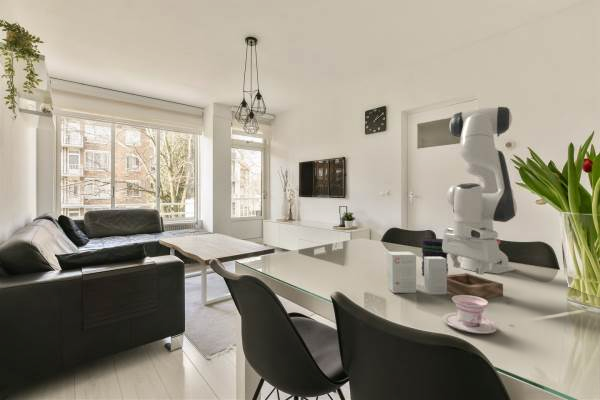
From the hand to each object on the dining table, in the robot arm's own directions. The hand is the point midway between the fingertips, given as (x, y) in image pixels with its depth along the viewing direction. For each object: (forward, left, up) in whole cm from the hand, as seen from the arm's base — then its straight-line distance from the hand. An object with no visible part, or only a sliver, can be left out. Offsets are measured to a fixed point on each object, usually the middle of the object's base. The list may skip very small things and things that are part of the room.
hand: (467, 270), depth 100 cm
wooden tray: (0, 0, -7) cm, 7 cm away
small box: (+21, -8, -7) cm, 24 cm away
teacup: (+21, +20, -8) cm, 30 cm away
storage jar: (-4, -20, -7) cm, 22 cm away
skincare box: (+12, -2, -7) cm, 14 cm away
